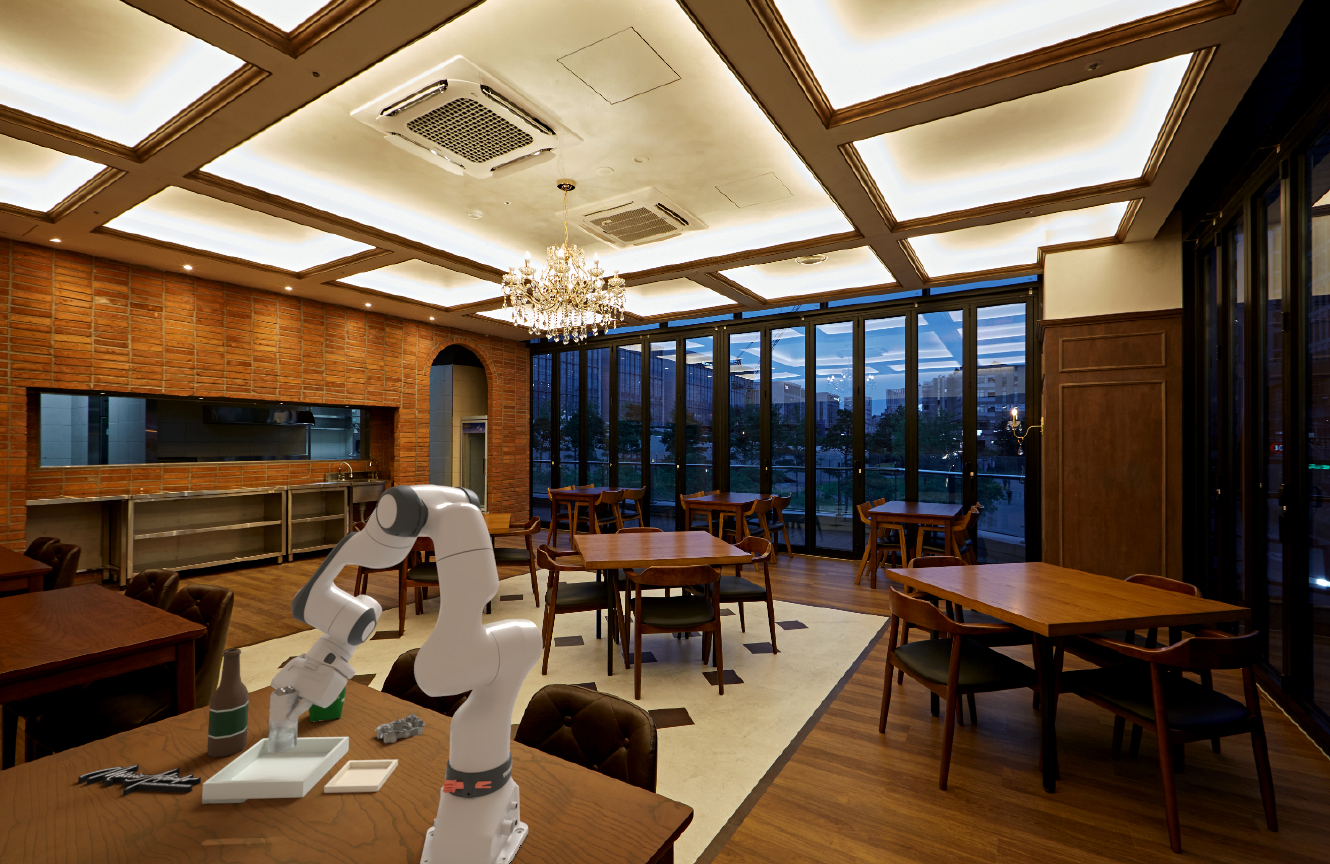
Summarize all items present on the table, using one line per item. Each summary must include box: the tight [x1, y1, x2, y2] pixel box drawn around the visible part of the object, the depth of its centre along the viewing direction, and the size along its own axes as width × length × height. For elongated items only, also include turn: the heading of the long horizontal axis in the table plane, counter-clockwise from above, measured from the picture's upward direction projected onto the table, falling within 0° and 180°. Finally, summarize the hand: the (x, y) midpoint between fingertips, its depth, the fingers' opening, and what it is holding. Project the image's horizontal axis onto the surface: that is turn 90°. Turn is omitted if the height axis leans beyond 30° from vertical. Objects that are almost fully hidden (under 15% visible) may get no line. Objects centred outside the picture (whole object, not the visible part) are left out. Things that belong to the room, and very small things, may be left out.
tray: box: [323, 759, 399, 794], centre depth 130 cm, size 11×11×2 cm
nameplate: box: [77, 764, 202, 797], centre depth 128 cm, size 28×2×10 cm
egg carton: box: [374, 713, 427, 744], centre depth 151 cm, size 11×8×4 cm
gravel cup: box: [267, 686, 300, 753], centre depth 132 cm, size 6×6×13 cm
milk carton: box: [308, 685, 347, 722], centre depth 163 cm, size 9×9×20 cm
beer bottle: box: [207, 647, 250, 759], centre depth 144 cm, size 8×8×24 cm
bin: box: [201, 736, 350, 805], centre depth 131 cm, size 20×20×4 cm
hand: (280, 716), depth 132 cm, fingers closed on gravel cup, 5 cm apart
